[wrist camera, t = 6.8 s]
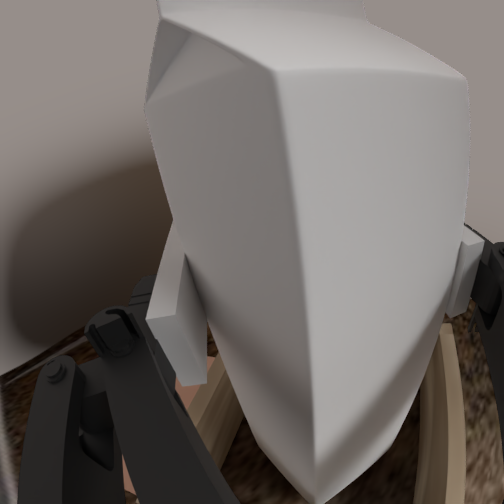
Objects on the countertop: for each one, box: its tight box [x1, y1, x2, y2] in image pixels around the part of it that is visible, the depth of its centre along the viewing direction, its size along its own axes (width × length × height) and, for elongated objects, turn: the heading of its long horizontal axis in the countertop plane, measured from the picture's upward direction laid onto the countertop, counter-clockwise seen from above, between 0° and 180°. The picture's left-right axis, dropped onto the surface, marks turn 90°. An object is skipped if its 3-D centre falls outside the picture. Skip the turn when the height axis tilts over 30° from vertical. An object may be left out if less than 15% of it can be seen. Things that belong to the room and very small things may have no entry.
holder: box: [135, 323, 466, 504], centre depth 15 cm, size 15×15×6 cm
